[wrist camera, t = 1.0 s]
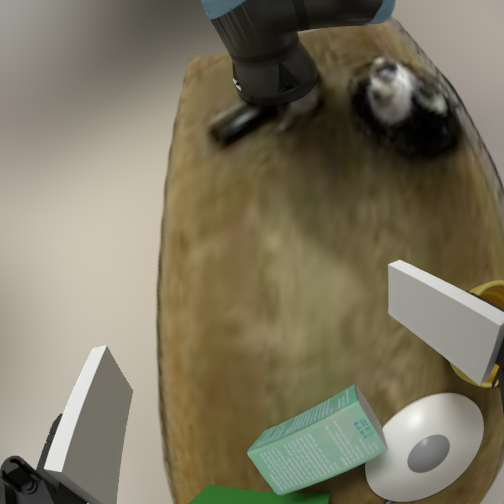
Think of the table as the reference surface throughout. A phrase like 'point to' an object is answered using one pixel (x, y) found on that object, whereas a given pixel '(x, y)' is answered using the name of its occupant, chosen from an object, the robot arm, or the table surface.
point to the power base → (426, 447)
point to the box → (319, 443)
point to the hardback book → (255, 497)
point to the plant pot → (500, 295)
